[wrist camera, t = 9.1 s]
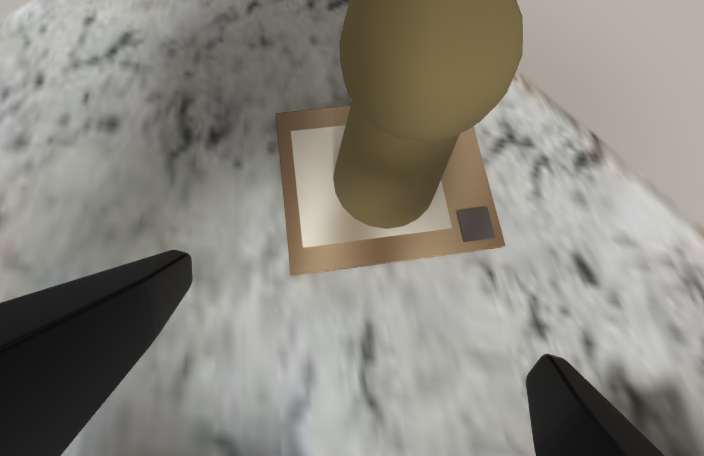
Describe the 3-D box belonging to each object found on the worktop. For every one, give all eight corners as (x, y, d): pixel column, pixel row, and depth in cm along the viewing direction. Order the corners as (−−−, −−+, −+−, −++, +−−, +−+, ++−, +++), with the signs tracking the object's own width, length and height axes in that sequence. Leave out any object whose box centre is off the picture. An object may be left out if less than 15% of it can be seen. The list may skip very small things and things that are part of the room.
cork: (333, 131, 19) (324, -96, 8) (433, 133, 19) (546, -86, 9) (332, 228, 18) (318, 99, 7) (440, 229, 18) (588, 105, 7)
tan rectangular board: (292, 276, 17) (290, 274, 17) (277, 118, 20) (275, 112, 19) (501, 247, 18) (506, 245, 18) (461, 98, 21) (465, 92, 20)
